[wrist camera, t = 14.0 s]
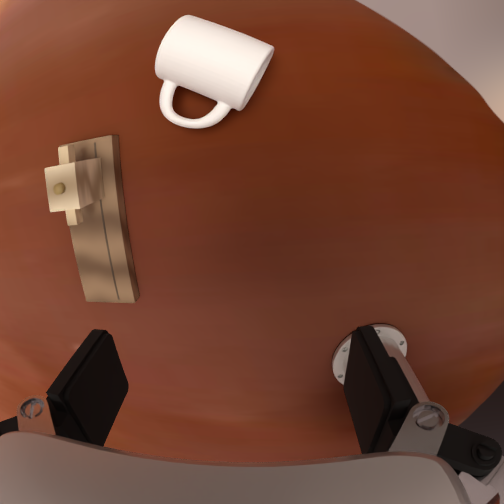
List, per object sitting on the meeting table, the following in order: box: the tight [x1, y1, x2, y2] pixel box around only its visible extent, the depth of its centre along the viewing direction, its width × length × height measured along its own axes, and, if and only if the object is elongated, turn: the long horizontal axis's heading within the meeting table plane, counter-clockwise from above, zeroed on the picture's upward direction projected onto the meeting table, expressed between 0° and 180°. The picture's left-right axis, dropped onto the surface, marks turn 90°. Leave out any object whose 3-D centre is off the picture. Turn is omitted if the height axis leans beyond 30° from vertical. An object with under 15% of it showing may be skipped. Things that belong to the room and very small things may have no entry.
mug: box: [155, 15, 274, 128], centre depth 28 cm, size 12×10×8 cm
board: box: [60, 135, 140, 303], centre depth 37 cm, size 22×8×2 cm, turn 2°
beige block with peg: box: [45, 145, 105, 226], centre depth 31 cm, size 9×4×7 cm, turn 2°
